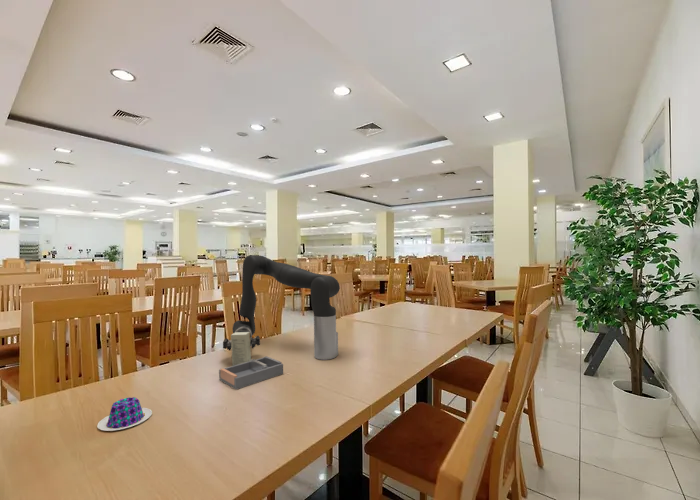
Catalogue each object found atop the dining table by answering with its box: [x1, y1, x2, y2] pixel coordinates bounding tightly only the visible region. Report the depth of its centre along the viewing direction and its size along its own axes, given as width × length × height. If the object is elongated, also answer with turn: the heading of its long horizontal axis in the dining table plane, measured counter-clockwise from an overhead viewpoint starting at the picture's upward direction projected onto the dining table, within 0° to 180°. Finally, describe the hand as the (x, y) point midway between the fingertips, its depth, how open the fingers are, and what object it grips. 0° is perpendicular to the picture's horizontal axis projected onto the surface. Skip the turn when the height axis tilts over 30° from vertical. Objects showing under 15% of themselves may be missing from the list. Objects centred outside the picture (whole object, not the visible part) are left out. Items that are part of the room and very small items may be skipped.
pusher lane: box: [218, 356, 284, 390], centre depth 116 cm, size 18×12×4 cm, turn 136°
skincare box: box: [230, 332, 252, 366], centre depth 129 cm, size 6×4×12 cm
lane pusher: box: [250, 358, 267, 371], centre depth 118 cm, size 1×9×3 cm, turn 46°
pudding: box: [96, 396, 153, 432], centre depth 87 cm, size 12×12×5 cm
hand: (241, 346), depth 129 cm, fingers open, 8 cm apart
